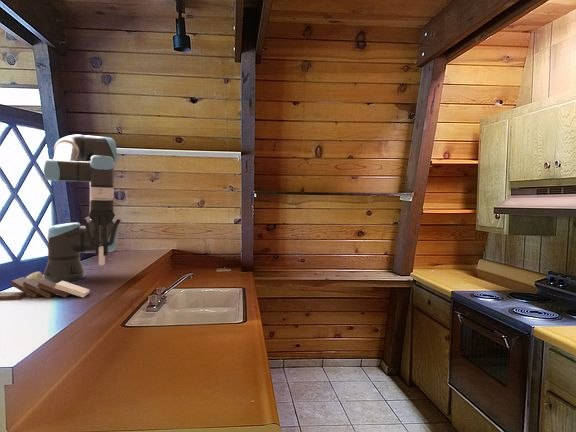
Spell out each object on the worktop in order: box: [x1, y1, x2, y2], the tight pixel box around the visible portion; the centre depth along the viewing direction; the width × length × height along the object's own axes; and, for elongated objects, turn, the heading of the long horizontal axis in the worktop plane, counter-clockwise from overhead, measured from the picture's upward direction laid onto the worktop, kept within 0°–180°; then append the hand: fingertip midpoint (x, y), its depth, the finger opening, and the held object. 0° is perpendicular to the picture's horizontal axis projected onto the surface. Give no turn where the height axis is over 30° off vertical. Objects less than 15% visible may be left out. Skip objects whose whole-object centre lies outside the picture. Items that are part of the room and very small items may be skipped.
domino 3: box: [22, 278, 57, 299], centre depth 136 cm, size 2×5×10 cm
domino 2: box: [10, 276, 42, 299], centre depth 136 cm, size 2×5×10 cm
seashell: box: [25, 271, 44, 281], centre depth 142 cm, size 8×8×8 cm
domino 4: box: [37, 279, 72, 298], centre depth 136 cm, size 2×5×10 cm
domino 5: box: [55, 281, 91, 298], centre depth 137 cm, size 2×5×10 cm
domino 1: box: [0, 291, 27, 301], centre depth 132 cm, size 2×5×10 cm
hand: (101, 264), depth 140 cm, fingers closed
